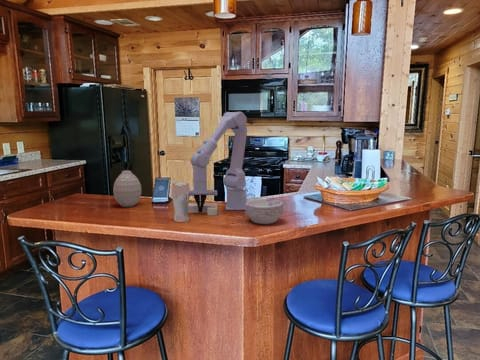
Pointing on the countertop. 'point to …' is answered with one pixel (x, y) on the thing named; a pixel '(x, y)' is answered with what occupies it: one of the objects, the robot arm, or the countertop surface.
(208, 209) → the stub
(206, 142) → the robot arm
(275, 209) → the paper bowls
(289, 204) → the countertop surface
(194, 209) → the white striped box
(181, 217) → the beer glass
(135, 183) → the vase
